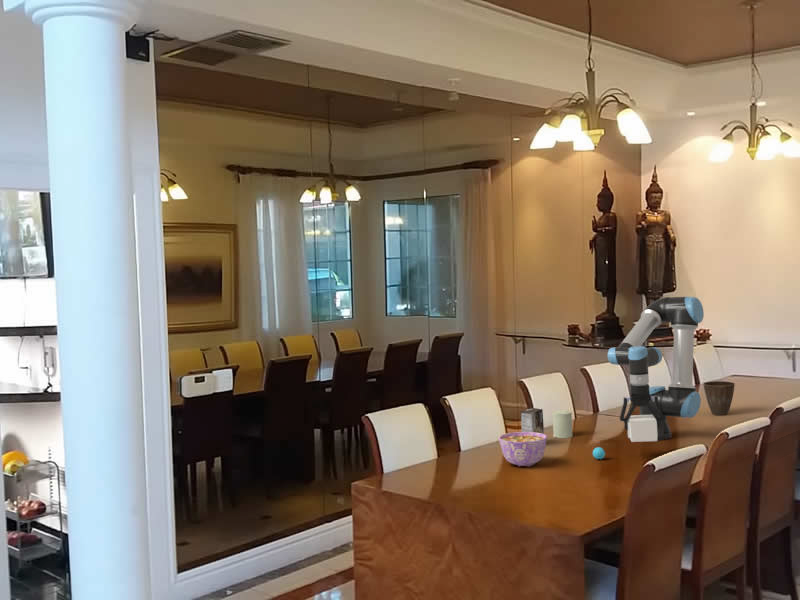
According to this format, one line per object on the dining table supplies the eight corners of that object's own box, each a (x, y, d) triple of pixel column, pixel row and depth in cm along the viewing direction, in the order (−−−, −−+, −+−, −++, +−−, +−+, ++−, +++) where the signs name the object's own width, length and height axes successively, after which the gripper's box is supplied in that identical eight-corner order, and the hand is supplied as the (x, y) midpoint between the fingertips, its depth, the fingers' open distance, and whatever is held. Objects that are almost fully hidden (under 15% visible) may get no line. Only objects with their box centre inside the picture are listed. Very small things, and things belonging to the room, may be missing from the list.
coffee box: (533, 441, 376) (531, 407, 375) (545, 443, 372) (543, 408, 371) (521, 445, 370) (519, 410, 369) (533, 447, 365) (531, 412, 364)
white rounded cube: (653, 435, 340) (652, 414, 339) (657, 441, 330) (656, 419, 329) (628, 436, 342) (627, 415, 341) (631, 441, 332) (630, 420, 331)
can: (573, 438, 380) (571, 412, 379) (553, 438, 382) (551, 413, 381) (572, 433, 389) (571, 409, 388) (553, 434, 391) (552, 409, 390)
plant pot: (738, 412, 417) (737, 381, 416) (732, 417, 404) (731, 386, 403) (708, 411, 425) (706, 380, 424) (701, 416, 412) (700, 385, 411)
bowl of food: (518, 473, 322) (517, 444, 322) (490, 463, 340) (489, 436, 340) (558, 464, 332) (556, 437, 331) (529, 456, 349) (527, 429, 349)
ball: (604, 457, 339) (604, 446, 339) (605, 460, 334) (605, 448, 334) (592, 458, 340) (591, 446, 339) (593, 460, 335) (592, 448, 334)
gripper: (612, 386, 333) (615, 439, 334) (669, 384, 329) (672, 437, 330) (610, 383, 340) (613, 435, 341) (666, 381, 336) (669, 433, 338)
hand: (642, 436), depth 336 cm, fingers closed on white rounded cube, 10 cm apart
